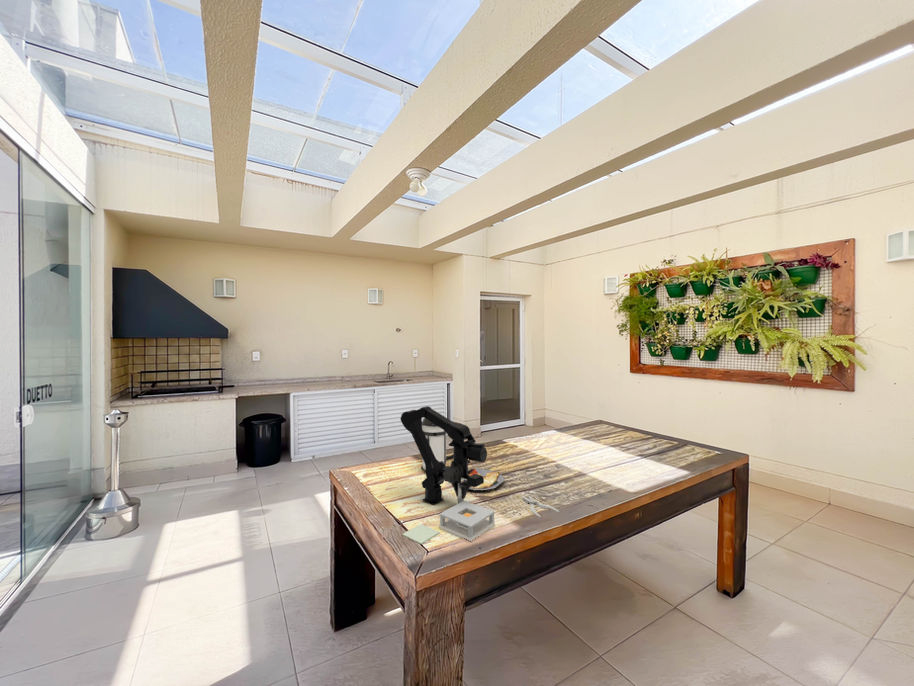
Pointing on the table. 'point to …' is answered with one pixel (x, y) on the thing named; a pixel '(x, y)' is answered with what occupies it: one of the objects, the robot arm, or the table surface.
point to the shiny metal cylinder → (460, 492)
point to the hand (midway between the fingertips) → (460, 497)
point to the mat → (421, 533)
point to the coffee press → (435, 441)
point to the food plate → (487, 478)
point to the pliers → (532, 502)
